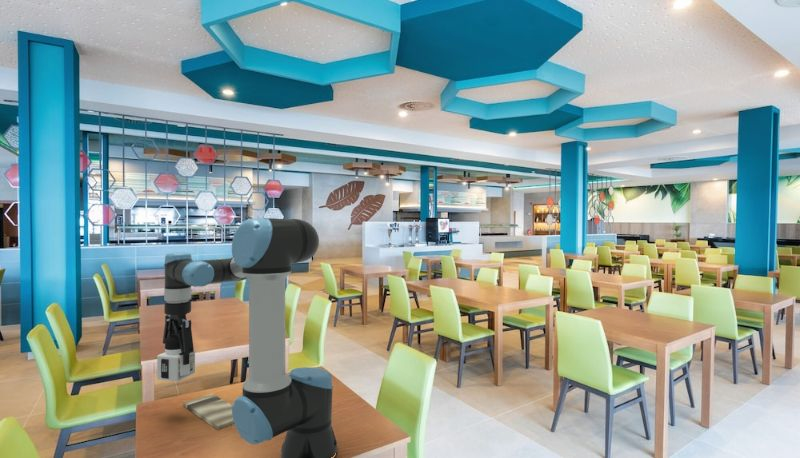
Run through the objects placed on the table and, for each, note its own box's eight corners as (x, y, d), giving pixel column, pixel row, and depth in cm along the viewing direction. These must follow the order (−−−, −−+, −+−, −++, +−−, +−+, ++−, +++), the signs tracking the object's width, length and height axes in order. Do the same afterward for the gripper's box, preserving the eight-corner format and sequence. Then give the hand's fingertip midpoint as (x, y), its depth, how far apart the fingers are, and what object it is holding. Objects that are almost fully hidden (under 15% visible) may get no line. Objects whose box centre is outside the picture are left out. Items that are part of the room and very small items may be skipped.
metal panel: (247, 418, 134) (247, 414, 133) (217, 429, 126) (217, 426, 126) (212, 396, 149) (212, 393, 149) (183, 405, 141) (183, 402, 141)
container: (177, 382, 127) (178, 340, 127) (156, 379, 129) (156, 338, 129) (195, 373, 135) (195, 333, 135) (175, 371, 137) (175, 332, 137)
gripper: (206, 303, 128) (205, 375, 128) (175, 295, 142) (175, 359, 142) (180, 307, 122) (180, 382, 122) (151, 298, 136) (151, 365, 137)
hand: (177, 370), depth 132 cm, fingers closed on container, 10 cm apart
